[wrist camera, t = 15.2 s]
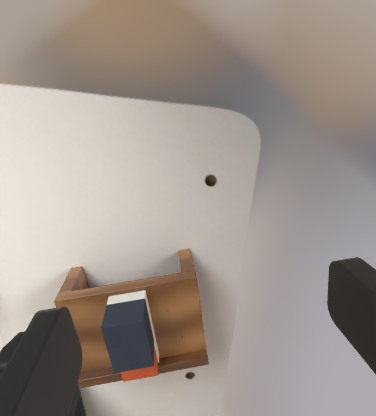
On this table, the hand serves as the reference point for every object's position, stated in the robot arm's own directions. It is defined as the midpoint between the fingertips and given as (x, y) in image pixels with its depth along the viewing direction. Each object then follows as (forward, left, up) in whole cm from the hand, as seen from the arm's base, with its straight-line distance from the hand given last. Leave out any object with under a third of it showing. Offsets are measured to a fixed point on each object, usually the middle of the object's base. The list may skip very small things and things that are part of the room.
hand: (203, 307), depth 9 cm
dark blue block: (+18, -7, -21) cm, 29 cm away
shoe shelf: (+19, -7, -28) cm, 35 cm away
